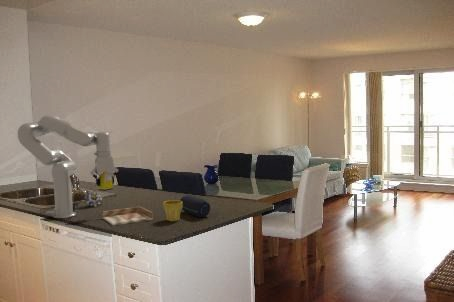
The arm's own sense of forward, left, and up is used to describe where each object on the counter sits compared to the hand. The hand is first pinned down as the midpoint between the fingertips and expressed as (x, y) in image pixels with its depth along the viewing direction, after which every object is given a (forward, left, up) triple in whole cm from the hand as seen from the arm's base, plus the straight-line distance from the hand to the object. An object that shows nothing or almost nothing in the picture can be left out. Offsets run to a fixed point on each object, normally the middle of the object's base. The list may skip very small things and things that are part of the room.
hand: (105, 184), depth 255 cm
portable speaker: (+43, -28, -18) cm, 54 cm away
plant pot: (+27, -33, -18) cm, 46 cm away
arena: (+7, -16, -18) cm, 25 cm away
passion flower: (0, +34, -18) cm, 39 cm away
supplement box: (0, 0, -3) cm, 3 cm away
